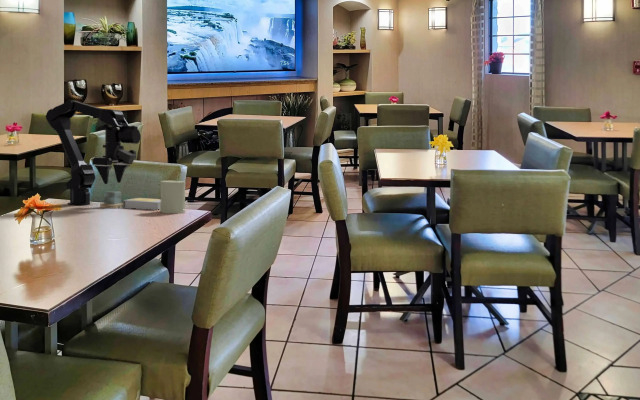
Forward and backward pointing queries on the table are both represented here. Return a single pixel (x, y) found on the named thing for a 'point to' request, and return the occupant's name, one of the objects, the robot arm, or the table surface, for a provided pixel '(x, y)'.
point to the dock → (143, 203)
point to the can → (172, 197)
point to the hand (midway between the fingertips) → (112, 183)
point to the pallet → (112, 200)
